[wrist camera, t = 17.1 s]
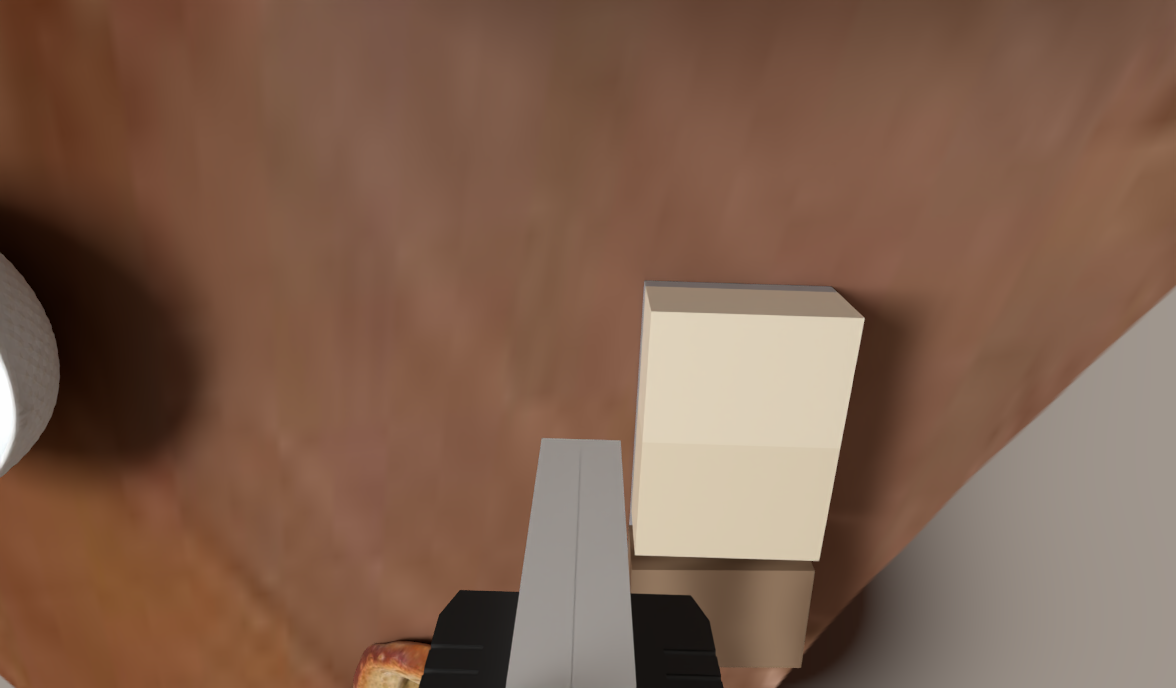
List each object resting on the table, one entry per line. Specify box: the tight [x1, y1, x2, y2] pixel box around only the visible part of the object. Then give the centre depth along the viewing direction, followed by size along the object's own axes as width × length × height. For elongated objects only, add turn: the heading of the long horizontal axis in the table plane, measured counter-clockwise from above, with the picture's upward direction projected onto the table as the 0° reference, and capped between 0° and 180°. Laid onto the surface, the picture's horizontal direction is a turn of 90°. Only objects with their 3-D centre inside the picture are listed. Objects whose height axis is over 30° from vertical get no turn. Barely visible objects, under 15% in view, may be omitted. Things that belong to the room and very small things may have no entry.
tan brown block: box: [628, 525, 815, 668], centre depth 41 cm, size 10×7×4 cm
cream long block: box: [629, 281, 865, 561], centre depth 39 cm, size 10×24×5 cm, turn 178°
